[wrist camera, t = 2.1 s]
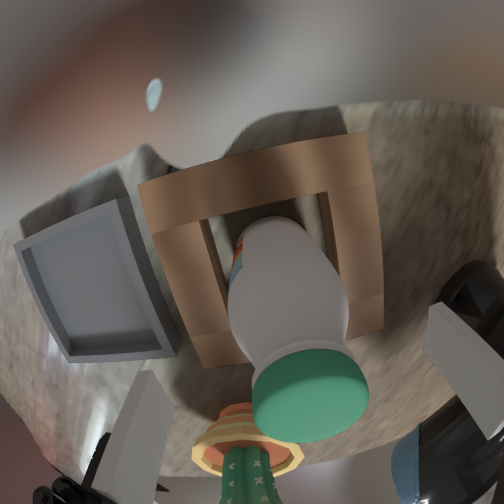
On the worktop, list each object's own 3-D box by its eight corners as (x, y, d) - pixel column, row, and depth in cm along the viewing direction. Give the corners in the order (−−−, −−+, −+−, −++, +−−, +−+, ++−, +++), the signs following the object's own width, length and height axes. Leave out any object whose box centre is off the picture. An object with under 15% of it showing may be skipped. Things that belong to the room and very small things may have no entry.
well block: (348, 136, 24) (364, 132, 20) (370, 310, 30) (383, 328, 26) (152, 181, 25) (137, 184, 21) (208, 347, 31) (204, 369, 27)
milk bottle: (256, 200, 26) (276, 298, 7) (324, 236, 27) (441, 366, 8) (222, 267, 28) (181, 438, 9) (287, 297, 29) (329, 467, 10)
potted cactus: (267, 449, 39) (273, 568, 15) (185, 427, 37) (161, 557, 13) (317, 402, 35) (350, 553, 11) (219, 374, 33) (198, 560, 9)
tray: (128, 195, 25) (115, 198, 23) (181, 341, 31) (176, 356, 28) (27, 238, 27) (13, 244, 24) (77, 351, 32) (68, 363, 29)
